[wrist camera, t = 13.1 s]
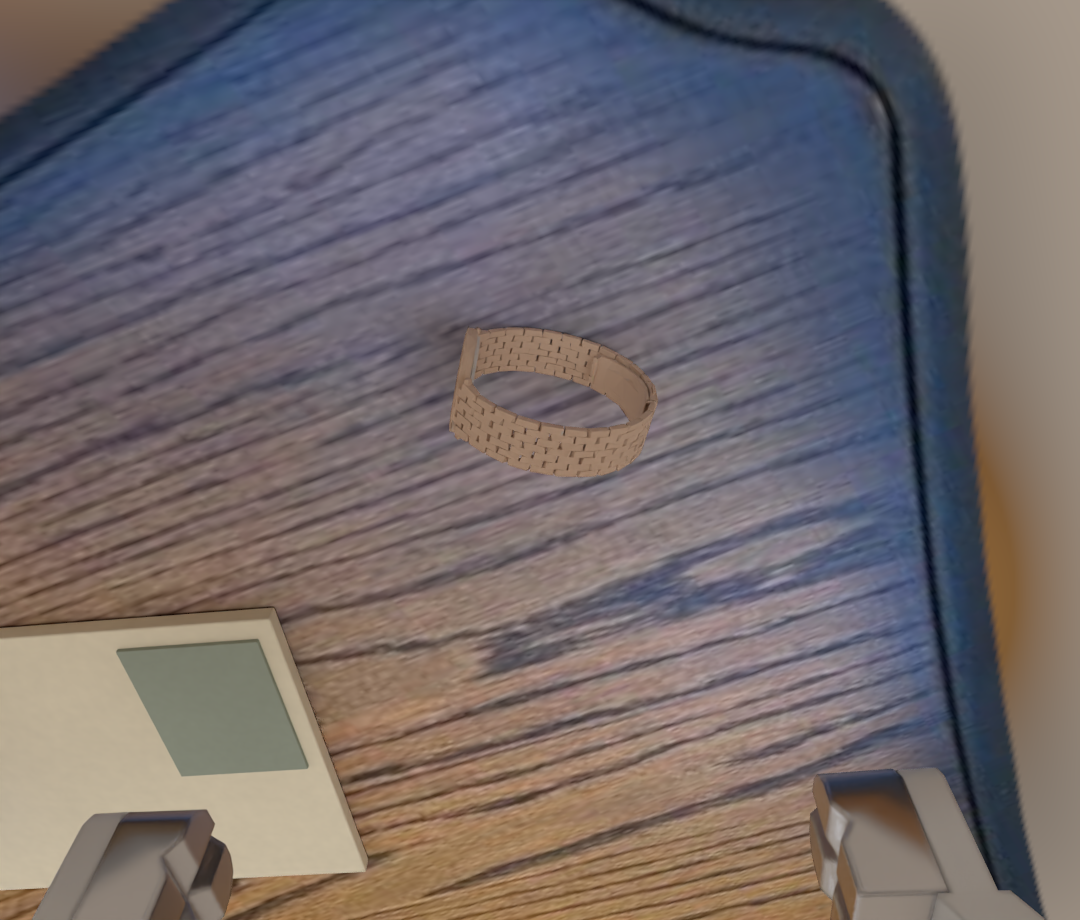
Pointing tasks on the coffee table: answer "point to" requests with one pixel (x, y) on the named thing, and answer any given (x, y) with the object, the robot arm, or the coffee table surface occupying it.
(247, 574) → the coffee table surface
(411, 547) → the coffee table surface
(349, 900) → the coffee table surface
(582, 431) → the perforated watch strap
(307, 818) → the mat
